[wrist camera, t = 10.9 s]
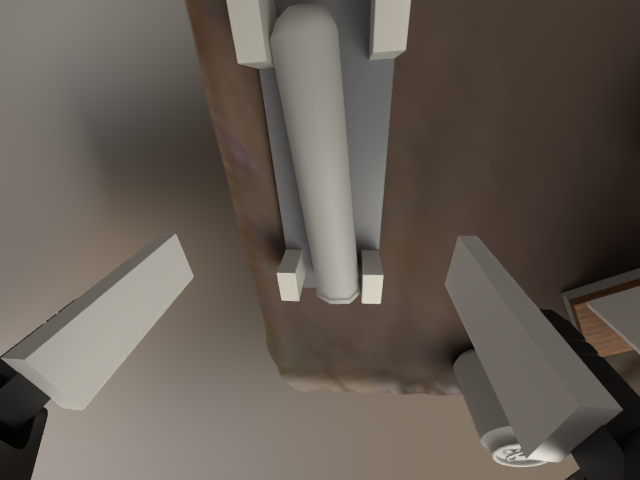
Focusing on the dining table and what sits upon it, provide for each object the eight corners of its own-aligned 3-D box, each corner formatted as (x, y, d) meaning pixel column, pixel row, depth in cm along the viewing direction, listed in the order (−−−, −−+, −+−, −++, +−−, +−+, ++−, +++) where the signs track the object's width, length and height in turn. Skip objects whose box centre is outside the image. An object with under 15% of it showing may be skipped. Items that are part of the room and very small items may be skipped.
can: (509, 367, 38) (567, 468, 28) (459, 378, 41) (496, 473, 31) (497, 339, 35) (557, 440, 25) (444, 352, 38) (479, 448, 28)
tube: (244, 7, 16) (308, 299, 28) (320, -23, 13) (354, 309, 26) (287, 21, 20) (327, 271, 32) (351, 0, 17) (367, 277, 30)
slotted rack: (401, -48, 17) (420, -101, 12) (374, 284, 32) (379, 316, 28) (248, -29, 18) (213, -70, 14) (293, 281, 34) (284, 312, 29)
